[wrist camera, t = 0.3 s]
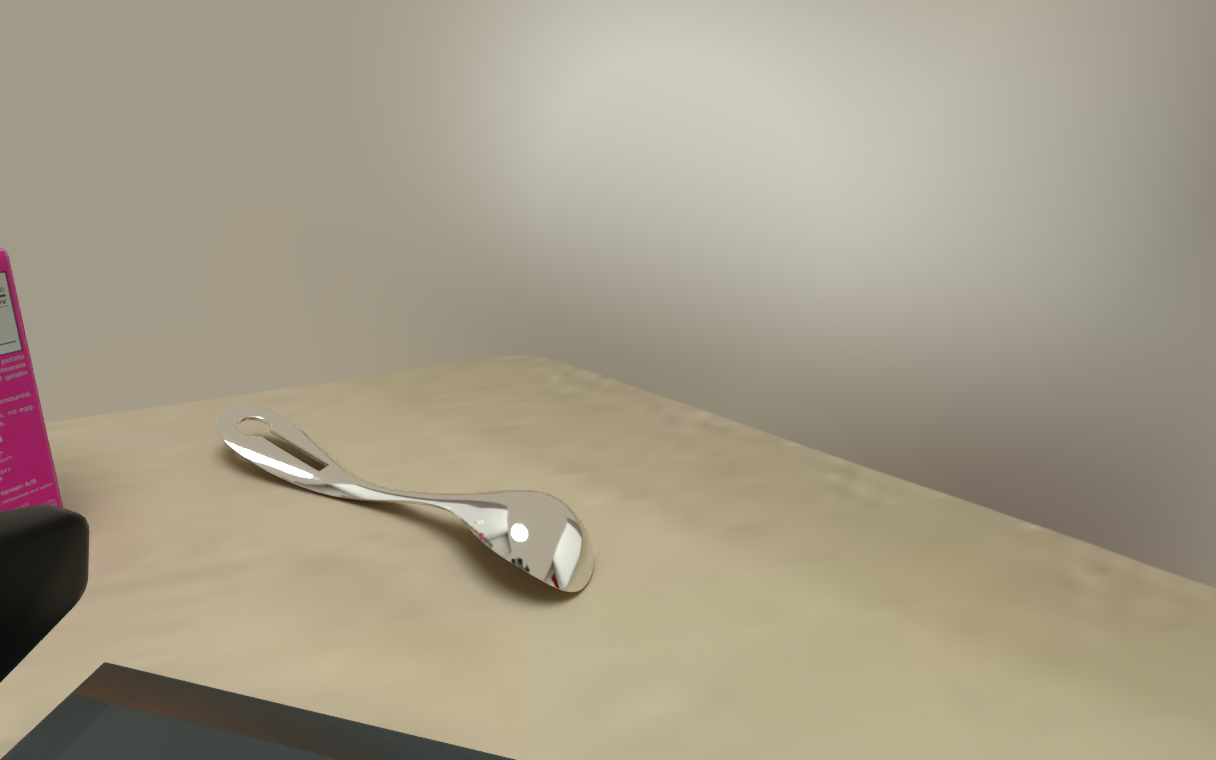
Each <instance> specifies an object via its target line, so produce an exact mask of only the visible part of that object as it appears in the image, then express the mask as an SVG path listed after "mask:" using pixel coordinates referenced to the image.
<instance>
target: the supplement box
mask: <svg viewBox="0 0 1216 760" xmlns="http://www.w3.org/2000/svg"><path fill="white" fill-rule="evenodd" d="M42 504H46V505H53V506H57V507H60V508H63V505H62V501H61V496H60V492H59V487H58V482H57V478H56V473H55V468H54V464H53V459H52V454H51V450H50V445H49V441H48V437H47V432H46V427H45V423H44V418H43V414H42V409H41V404H40V400H39V395H38V390H37V386H36V381H35V377H34V373H33V368H32V362H31V358H30V353H29V349H28V344H27V340H26V335H25V330H24V325H23V321H22V316H21V311H20V307H19V302H18V298H17V293H16V288H15V284H14V279H13V275H12V270H11V265H10V261H9V256H8V253H7V251H6V250H4V249H2V248H0V511H6V510H12V509H18V508H24V507H29V506H35V505H42Z"/></svg>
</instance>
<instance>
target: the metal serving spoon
mask: <svg viewBox="0 0 1216 760" xmlns="http://www.w3.org/2000/svg"><path fill="white" fill-rule="evenodd" d="M246 420H256V421H261V422H263V423H265V424H267V425H268V426H269V427H270V433H272V434H273V435H275V436H277V437H278V438H280V439H282V440H283V441H285V442H286V443H288V444H290V445H291V446H293V447H295V448H296V449H298V450H300V451H301V452H303V453H305V454H306V455H308V456H310V457H311V458H313V459H315V460H316V461H318V462H319V463H321V464H323V465H324V466H326V467H325V468H324V469H322V470H321V471H317V470H316V469H314V468H312V467H311V466H309V465H307V464H305V463H304V462H302V461H300V460H299V459H297V458H295V457H294V456H292V455H290V454H289V453H287V452H285V451H284V450H282V449H281V448H279V447H277V446H276V445H274V444H272V443H271V442H269V441H267V440H266V439H264V438H263V437H261V436H247V435H244V434H242V433H241V432H239V431H238V430H237V425H238V424H239V423H241V422H243V421H246ZM216 432H217V434H218V435H219V437H220V438H221V439H222V441H223V442H224V443H225V444H226V445H227V446H229V447H230V448H231V449H232V450H233V451H235V452H236V453H237V454H239V455H240V456H242V457H243V458H245V459H246V460H248V461H249V462H251V463H253V464H254V465H256V466H258V467H260V468H262V469H263V470H265V471H267V472H269V473H271V474H273V475H275V476H277V477H279V478H282V479H284V480H286V481H288V482H291V483H293V484H295V485H298V486H300V487H303V488H306V489H309V490H312V491H315V492H318V493H321V494H325V495H329V496H333V497H338V498H344V499H350V500H359V501H372V502H392V503H409V504H420V505H427V506H433V507H437V508H441V509H444V510H447V511H449V512H451V513H453V514H454V515H456V516H457V517H459V518H460V519H461V520H462V521H463V522H464V523H465V524H466V525H467V527H468V528H469V529H470V530H471V531H472V532H473V533H474V534H475V535H476V536H477V537H478V538H479V539H480V540H481V541H482V542H483V543H484V544H485V545H487V546H488V547H489V548H490V549H492V550H493V551H494V552H496V553H497V554H498V555H500V556H501V557H503V558H504V559H506V560H508V561H509V562H511V563H512V564H514V565H516V566H517V567H519V568H521V569H522V570H524V571H526V572H527V573H529V574H531V575H532V576H534V577H536V578H538V579H539V580H541V581H543V582H544V583H546V584H548V585H550V586H552V587H554V588H556V589H558V590H561V591H566V592H577V591H579V590H581V589H583V588H584V587H585V586H586V584H587V583H588V581H589V579H590V577H591V574H592V570H593V549H592V544H591V540H590V537H589V535H588V532H587V530H586V528H585V527H584V525H583V523H582V522H581V520H580V519H579V518H578V516H577V515H576V514H575V512H574V511H573V510H572V509H571V508H570V507H569V506H568V505H567V504H566V503H564V502H563V501H561V500H560V499H558V498H556V497H555V496H552V495H550V494H547V493H544V492H539V491H533V490H503V491H491V492H478V493H430V492H416V491H405V490H398V489H392V488H387V487H383V486H379V485H376V484H373V483H370V482H368V481H366V480H364V479H362V478H360V477H358V476H356V475H355V474H353V473H352V472H350V471H349V470H347V469H346V468H345V467H343V466H342V465H341V464H339V463H338V462H337V461H336V460H335V459H333V458H332V457H331V456H330V455H329V454H328V453H327V452H325V451H324V450H323V449H322V448H321V447H320V446H319V445H318V444H317V443H316V442H314V441H313V440H312V439H311V438H310V437H309V436H308V435H307V434H306V433H304V432H303V431H302V430H301V429H300V428H299V427H297V426H296V425H295V424H294V423H292V422H291V421H290V420H288V419H287V418H285V417H284V416H282V415H281V414H279V413H277V412H275V411H273V410H271V409H269V408H266V407H263V406H259V405H231V406H228V407H226V408H224V409H223V410H222V411H221V413H220V415H219V417H218V418H217V420H216Z"/></svg>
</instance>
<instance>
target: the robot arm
mask: <svg viewBox="0 0 1216 760" xmlns="http://www.w3.org/2000/svg"><path fill="white" fill-rule="evenodd" d="M88 560H89V525H88V523H87V521H86V519H85V517H83V516H82V515H80V514H78V513H75V512H72V511H69V510H66V509H63V508H60V507H57V506H53V505H46V504H42V505H35V506H29V507H24V508H18V509H12V510H6V511H0V682H1V681H2V680H3V679H4V678H5V677H6V676H7V675H8V674H9V673H10V672H11V671H12V670H13V669H14V668H15V667H16V666H17V665H18V664H19V663H20V662H21V661H22V660H23V659H24V658H25V657H26V656H27V655H28V654H29V652H30V651H31V650H32V649H33V648H34V647H35V646H36V645H37V644H38V643H39V642H40V641H41V640H42V639H43V638H44V637H45V636H46V635H47V634H48V633H49V632H50V631H51V630H52V629H53V628H54V627H55V626H56V625H57V624H58V623H59V621H60V620H61V619H62V618H63V617H64V616H65V615H66V614H67V613H68V612H69V611H70V610H71V609H72V608H73V607H74V606H75V605H76V603H77V602H78V601H79V599H80V598H81V596H82V595H83V593H84V591H85V589H86V585H87V582H88Z"/></svg>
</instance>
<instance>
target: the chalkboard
mask: <svg viewBox="0 0 1216 760" xmlns="http://www.w3.org/2000/svg"><path fill="white" fill-rule="evenodd" d="M0 760H515V759H511V758H506V757H502V756H498V755H494V754H489V753H485V752H481V751H477V750H473V749H468V748H464V747H460V746H456V745H452V744H447V743H443V742H439V741H435V740H430V739H426V738H422V737H418V736H414V735H409V734H405V733H401V732H397V731H393V730H388V729H384V728H380V727H376V726H372V725H367V724H363V723H359V722H355V721H350V720H346V719H342V718H338V717H334V716H329V715H325V714H321V713H317V712H313V711H308V710H304V709H300V708H296V707H292V706H287V705H283V704H279V703H275V702H270V701H266V700H262V699H258V698H254V697H249V696H245V695H241V694H237V693H233V692H228V691H224V690H220V689H216V688H211V687H207V686H203V685H199V684H195V683H190V682H186V681H182V680H178V679H174V678H169V677H165V676H161V675H157V674H153V673H148V672H144V671H140V670H136V669H131V668H127V667H123V666H119V665H115V664H110V663H106V662H105V663H103V664H102V665H101V666H100V667H99V668H98V669H97V670H96V671H95V672H94V673H93V674H91V675H90V676H89V677H88V678H87V679H86V680H85V681H84V682H83V683H82V684H81V685H80V686H79V687H78V688H76V689H75V690H74V691H73V692H72V693H71V694H70V695H69V696H68V697H67V698H66V699H65V700H64V701H63V702H62V703H60V704H59V705H58V706H57V707H56V708H55V709H54V710H53V711H52V712H51V713H50V714H49V715H48V716H47V717H45V718H44V719H43V720H42V721H41V722H40V723H39V724H38V725H37V726H36V727H35V728H34V729H33V730H32V731H30V732H29V733H28V734H27V735H26V736H25V737H24V738H23V739H22V740H21V741H20V742H19V743H18V744H17V745H15V746H14V747H13V748H12V749H11V750H10V751H9V752H8V753H7V754H6V755H5V756H4V757H3V758H2V759H0Z"/></svg>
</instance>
